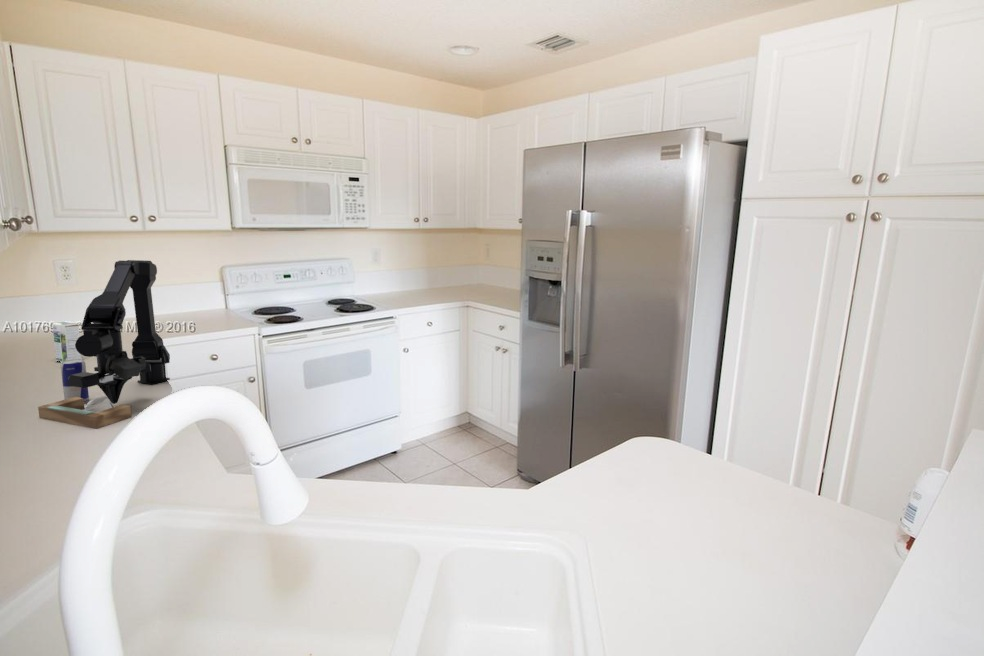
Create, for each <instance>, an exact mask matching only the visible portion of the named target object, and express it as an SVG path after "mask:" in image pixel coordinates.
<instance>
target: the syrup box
mask: <svg viewBox="0 0 984 656" xmlns="http://www.w3.org/2000/svg"><path fill="white" fill-rule="evenodd" d="M51 325H52V333H53V336H52V337H53V343H54V344H53V345H54V354H55V362H56V361H60V362H63V361H67V360H74V359H82V360H83V358H82V357H83V355H81V354H80V353H79V352H78V351H77V350H76V347H75V344H76V341H77V339H78V338H79V337H81V335H80V328H79V327H80V324H79V322H74V321H59V322H53V323H52V324H51ZM60 362H59V363H60Z"/></svg>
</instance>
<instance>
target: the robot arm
mask: <svg viewBox="0 0 984 656" xmlns="http://www.w3.org/2000/svg"><path fill="white" fill-rule="evenodd" d="M157 274H158V268H157V265H156V264H155V263H153V261H151V260H140V259H139V260H134V259H133V260H132V259H128V260H118V261H115V262H114V270H113V272H112V274H111V276H110V278H109V280H108V281H107V284H106V285H105V288H104V290H103V291H102V293H101V294H100V295H98V296H96V297H94V298H93V299H92V300H91V302H90V303H89V304H88V306H87V308H86V310H85V314H84V316H83V320H82V324H81V330H83V333H82V334H83V335H80V337H79V338H78V339H77V341H76V344H75V347H76V350H77V351H78V352H79V353H80V354H81V356H82V357H83V356H84V357H88V358H91V357H96V363H97V366H95V367H94V368H93V369H94V372H96V373H94V372H87V371H86V372H82V373H77V374H73V375H70V376H69V378H68V386H74V387H80V388H87V387H88V388H91V387H93V386H98V388H99V389H100V390H101V391H102V392H103V393H104V395H105V397H107V398H108V399H109V400H110V402H112V403H113V404H118V402H119V399H120V396H121V394H122V390H123V388H124V386H125V384H126V383H127V382H128V381H129V380H132V378H133V377H139V380H137V383H141V384H146V385H147V384H148V385H155V384H159V383H162V382H166V381H170V380H171V378H170V377H167V373H166V372H167V370H166V364H170V362H171V361H170V359H171V356H170V355H171V354H170V353H169V351H168V350H167V348H166V346H165V344H164V341H163V340H164V339H163V338H162V337H161V336H160V334H158V333H157V330H156V324H155V323H156V322H155V313H154V305H153V304H154V303H153V294H152V287H153V285H154V284H155V281H156V279H157ZM129 289H131V290H132V296H133V298H132V299H133V305H134V312H135V313H134V314H135V321H136V322H135V323H136V330H137V336H136V337H135V339H134V341H132V342H131V346H132V349H131V355H132V358H129V356H128V353H127V350H124V349H123V341H122V331H121V330H122V329H123V327H124V326H123V323H124V320H125V317H126V308H125V306H124V300H125V298H126V296H127V294H128V291H129Z"/></svg>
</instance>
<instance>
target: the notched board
mask: <svg viewBox="0 0 984 656" xmlns="http://www.w3.org/2000/svg"><path fill="white" fill-rule="evenodd" d="M37 409H38V418H39V419H43V420H49V421H55V422H60V423H65V424H70V425H74V426H75V425H76V426H81V427H85V428H91V429H100V428H103V427H106V426H109V425H112V424H115V423H117V422H120V421H125V420H127V419H129V418H132V410H131V405H127V404H126V405H124V404H120V405H117V406H115V407H113V408H110V409H106V410H103V411H100V412H96V413H94V412H91V411H85V403H84V399H83V398H79V397H73V398H69V399H66V400H64V399H62V400H59V401H55V402H51V403H48V404H43V405H39V406H37Z"/></svg>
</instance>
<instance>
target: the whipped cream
mask: <svg viewBox="0 0 984 656" xmlns="http://www.w3.org/2000/svg"><path fill="white" fill-rule="evenodd" d="M86 403H87V404H86V405H84V410H85V411H91V412H94V413H96V412H100V411H103V410H106V409H110V408H113V407H116V406H115V405H114V404H113V403H112V402H110V400H109V399H108V397H107V396H97V397H95V398H93V399H91V400H89V401H88V402H86Z"/></svg>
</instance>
